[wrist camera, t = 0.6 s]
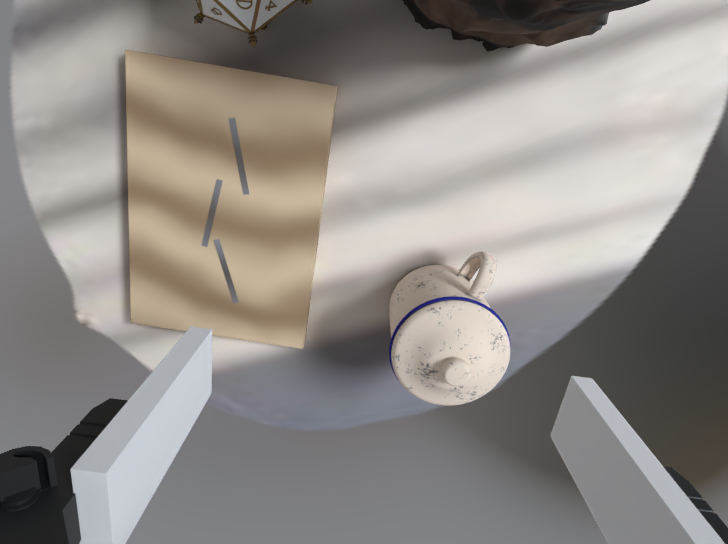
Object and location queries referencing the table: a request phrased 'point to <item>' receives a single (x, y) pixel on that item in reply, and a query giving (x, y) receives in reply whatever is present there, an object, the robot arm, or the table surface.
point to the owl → (516, 19)
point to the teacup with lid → (447, 332)
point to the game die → (243, 13)
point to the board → (224, 196)
